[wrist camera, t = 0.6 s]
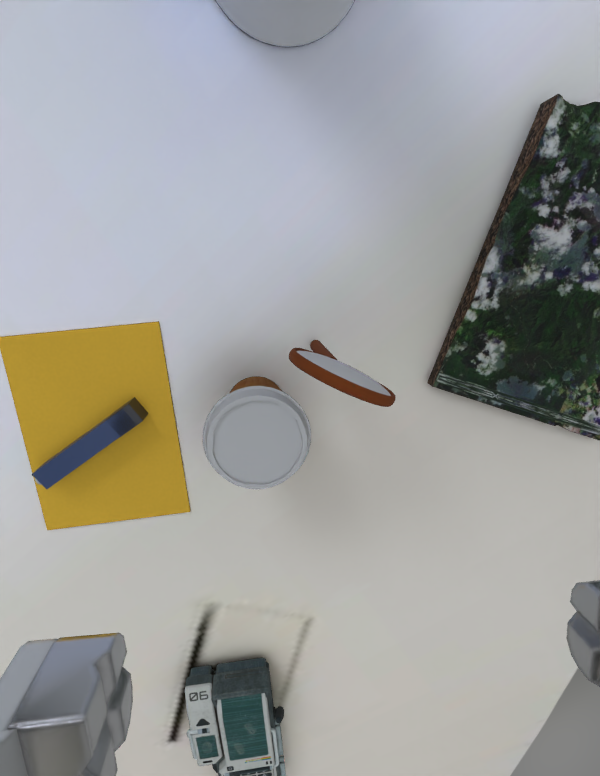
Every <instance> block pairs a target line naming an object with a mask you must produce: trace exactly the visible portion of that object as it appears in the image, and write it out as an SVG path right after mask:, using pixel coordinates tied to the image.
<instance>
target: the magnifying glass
mask: <svg viewBox="0 0 600 776" xmlns="http://www.w3.org/2000/svg"><path fill="white" fill-rule="evenodd" d="M310 347H311V349H312V350H313V352H312V351H309V350H305V349H302V348H293V349H292V350H291V351H290V354H289V359H290V361H291V362H292V363H293V364H294V365H295V366H296V367H298V368H299V369H301V370H302V371H304V372H305V373H307V374H309V375H310V376H312V377H314V378H316V379H317V380H319V381H321V382H323V383H325V384H327V385H329V386H331V387H333V388H335V389H337V390H339V391H342V392H344V393H346V394H348V395H351V396H353V397H355V398H358V399H361V400H363V401H366V402H369V403H372V404H375V405H379V406H384V407H389V406H391V405H392V404H393V403H394V401H395V395H394V393H393V392H392V391H390V390H389V389H388V388H386V387H385V386H383V385H382V384H380V383H378V382H377V381H375V380H373V379H372V378H370V377H369V376H367V375H366V374H364V373H362V372H360V371H358V370H357V369H355V368H353V367H351V366H349V365H347V364H344V363H342V362H340V361H337V359H336V358H335V357H334V356H333V355H332V354H331V353H330V352H329V351H328V350H327V349H326V348H325V347H324V345H323V344H322V343H321V342H320V341H318V340H314V341H312V342H311V344H310Z"/></svg>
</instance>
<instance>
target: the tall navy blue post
mask: <svg viewBox="0 0 600 776" xmlns="http://www.w3.org/2000/svg"><path fill="white" fill-rule="evenodd" d="M147 415H148V412H147V411H146V410H145V409H144V407H143V406H142V405H141V404H140V403H139V402H138V400H137V399H136V398H135V397H134V398H132V399H131V400H130V401H128V402H127V403H126V404H124V405H123V406H121V407H120V408H119V409H117V410H116V411H115V412H113V413H112V414H111V415H110V416H108V417H107V418H106V419H104V420H103V421H102V422H100V423H99V424H97V425H96V426H95V427H93V428H92V429H90V430H89V431H88V432H86V433H85V434H84V435H82V436H81V437H79V438H78V439H77V440H75V441H74V442H73V443H71V444H70V445H68V446H67V447H66V448H64V449H63V450H62V451H60V452H59V453H57V454H56V455H55V456H53V457H52V458H50V459H49V460H48V461H46V462H45V463H44V464H42V465H41V466H40V467H39V468H38V469H37V470H36V471H35V472H34V473H33V474H32V475H33V476H34V477H35V481H36V483H37V484H39V485H43V486H44V487H45V488H46V489H48V488H50V487H51V486H53V485H54V484H55V483H57V482H58V481H60V480H61V479H62V478H64V477H65V476H67V475H68V474H69V473H71V472H72V471H73V470H75V469H76V468H78V467H79V466H80V465H82V464H83V463H85V462H86V461H87V460H89V459H90V458H92V457H93V456H94V455H96V454H97V453H98V452H100V451H101V450H103V449H104V448H105V447H107V446H108V445H110V444H111V443H112V442H114V441H115V440H117V439H118V438H119V437H122V436H123V435H124V434H126V433H127V432H128V431H130V430H131V429H133V428H134V427H135V426H137V425H138V424H140V423H141V422H142V421H143V420H144V419H145V418H146V416H147Z"/></svg>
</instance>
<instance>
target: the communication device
mask: <svg viewBox="0 0 600 776" xmlns="http://www.w3.org/2000/svg"><path fill="white" fill-rule="evenodd" d="M185 697H186V707H187V714H188V719H189V724H190V729H189V730H188V731H187V736H188V738H189V740H190V745H191V750H192V754H193V758H194V759H197V763H198V765H199V766H204V765H210V764H212V765H213V769H214V770H215V771H216V772H217V773H218V775H219V776H286V773H285V764H284V756H279V755H283V747H282V737H281V728H280V723H281V721H282V719H283V717H284V709H283V707H281V706H279V707H277V709H275V707H274V706H273V699H272V690H271V682H270V673H269V664H268V663H267V662H266V659H265V658H257V659H250V660H243V661H236V662H229V663H222V664H218V665H217V669H216V671H214V670H213V669H212V667H211V666H210V665H208V666H201V667H194V668H192V669H191V673H190V675H189V677H188V678H187V679H186V686H185ZM275 718H276V719H275Z"/></svg>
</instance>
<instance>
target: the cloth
mask: <svg viewBox="0 0 600 776" xmlns="http://www.w3.org/2000/svg"><path fill="white" fill-rule="evenodd" d="M0 350H1V354H2V357H3V361H4V365H5V369H6V373H7V377H8V381H9V384H10V388H11V392H12V396H13V400H14V404H15V408H16V411H17V415H18V419H19V423H20V427H21V431H22V435H23V438H24V442H25V446H26V450H27V454H28V458H29V461H30V465H31V469H32V473H34V472H35V471H36V470H37V469H38V468H39V467H40V466H41V465H42V464H44V463H45V462H46V461H48V460H49V459H50V458H52V457H53V456H55V455H56V454H57V453H59V452H60V451H62V450H63V449H64V448H66V447H67V446H68V445H70V444H71V443H73V442H74V441H75V440H77V439H78V438H79V437H81V436H82V435H84V434H85V433H86V432H88V431H89V430H90V429H92V428H93V427H95V426H96V425H97V424H99V423H100V422H102V421H103V420H104V419H106V418H107V417H108V416H110V415H111V414H112V413H113V412H115V411H116V410H117V409H119V408H120V407H121V406H123V405H124V404H126V403H127V402H128V401H130V400H131V399H132V398H134V397H135V398H136V399H137V400H138V402H139V403H140V404H141V405H142V406H143V407H144V409H145V410H146V411H147V412H148V415H147V416H146V418H145V419H144V420H143V421H142V422H141V423H140V424H138V425H137V426H135V427H134V428H133V429H131V430H130V431H128V432H127V433H126V434H124V435H123V436H122V437H119V438H118V439H117V440H115V441H114V442H112V443H111V444H110V445H108V446H107V447H105V448H104V449H103V450H101V451H100V452H98V453H97V454H96V455H94V456H93V457H92V458H90V459H89V460H87V461H86V462H85V463H83V464H82V465H80V466H79V467H78V468H76V469H75V470H73V471H72V472H71V473H69V474H68V475H67V476H65V477H64V478H62V479H61V480H60V481H58V482H57V483H55V484H54V485H53V486H51V487H50V488H48V489H46V488H45V487H44V486H43V485H39V484H37V483H36V481H35V477H34V476H33V477H34V481H35V485H36V488H37V492H38V496H39V500H40V504H41V508H42V512H43V515H44V519H45V523H46V527H47V530H53V529H60V528H68V527H76V526H84V525H91V524H99V523H107V522H115V521H122V520H130V519H138V518H146V517H153V516H161V515H169V514H177V513H184V512H190V506H189V500H188V494H187V488H186V482H185V476H184V470H183V464H182V458H181V452H180V446H179V440H178V434H177V428H176V421H175V415H174V409H173V403H172V397H171V391H170V385H169V379H168V373H167V367H166V361H165V355H164V349H163V343H162V337H161V331H160V325H159V322H150V323H140V324H130V325H119V326H109V327H98V328H88V329H78V330H67V331H57V332H47V333H36V334H26V335H16V336H5V337H0Z"/></svg>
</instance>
